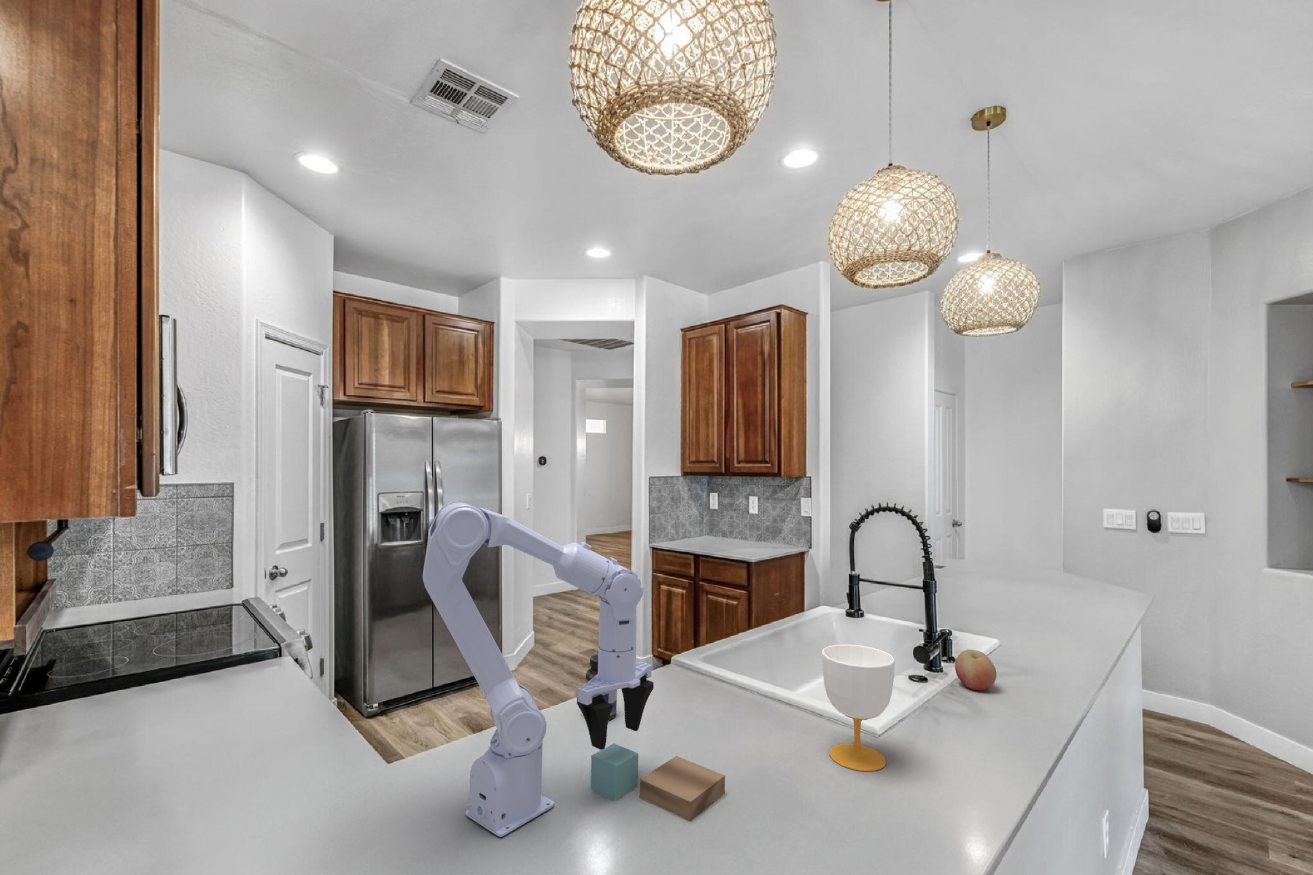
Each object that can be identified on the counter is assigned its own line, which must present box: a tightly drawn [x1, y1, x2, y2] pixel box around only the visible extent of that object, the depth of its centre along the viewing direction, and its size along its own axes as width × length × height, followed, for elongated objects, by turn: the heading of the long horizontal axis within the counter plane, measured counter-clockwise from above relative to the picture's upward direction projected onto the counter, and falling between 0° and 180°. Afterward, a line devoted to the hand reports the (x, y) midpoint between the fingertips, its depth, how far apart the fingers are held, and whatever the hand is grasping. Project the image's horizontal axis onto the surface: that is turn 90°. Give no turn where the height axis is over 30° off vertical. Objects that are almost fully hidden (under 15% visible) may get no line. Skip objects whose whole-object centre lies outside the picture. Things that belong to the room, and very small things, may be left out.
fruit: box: [954, 649, 997, 691], centre depth 132 cm, size 8×8×8 cm
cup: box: [821, 643, 896, 772], centre depth 99 cm, size 12×12×17 cm
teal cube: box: [590, 743, 639, 802], centre depth 89 cm, size 5×5×5 cm
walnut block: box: [639, 755, 726, 822], centre depth 87 cm, size 9×9×3 cm
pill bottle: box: [585, 654, 618, 721], centre depth 114 cm, size 6×6×11 cm
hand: (615, 737), depth 89 cm, fingers open, 7 cm apart
